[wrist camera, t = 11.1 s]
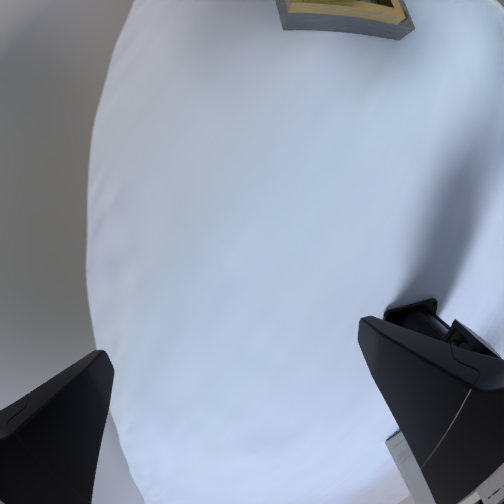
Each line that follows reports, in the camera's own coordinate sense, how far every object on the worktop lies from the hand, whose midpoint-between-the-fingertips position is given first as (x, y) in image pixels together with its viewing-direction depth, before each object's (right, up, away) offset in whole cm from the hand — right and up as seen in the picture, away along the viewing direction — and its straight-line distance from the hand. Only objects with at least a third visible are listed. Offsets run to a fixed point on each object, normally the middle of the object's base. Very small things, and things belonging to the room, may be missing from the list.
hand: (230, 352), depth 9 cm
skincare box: (+26, -26, +22) cm, 43 cm away
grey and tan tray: (+8, +27, +6) cm, 29 cm away
